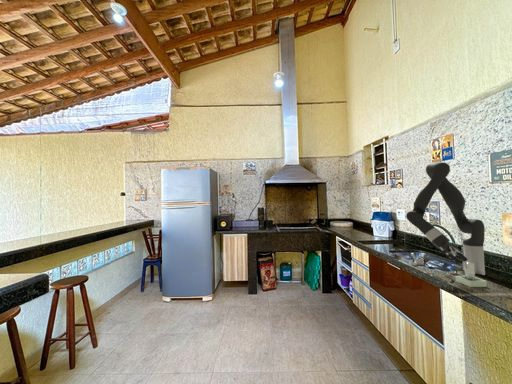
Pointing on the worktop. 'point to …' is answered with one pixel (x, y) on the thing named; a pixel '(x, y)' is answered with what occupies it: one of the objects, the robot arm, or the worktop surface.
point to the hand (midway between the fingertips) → (463, 261)
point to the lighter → (418, 259)
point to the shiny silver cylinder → (469, 271)
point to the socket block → (452, 275)
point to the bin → (471, 282)
